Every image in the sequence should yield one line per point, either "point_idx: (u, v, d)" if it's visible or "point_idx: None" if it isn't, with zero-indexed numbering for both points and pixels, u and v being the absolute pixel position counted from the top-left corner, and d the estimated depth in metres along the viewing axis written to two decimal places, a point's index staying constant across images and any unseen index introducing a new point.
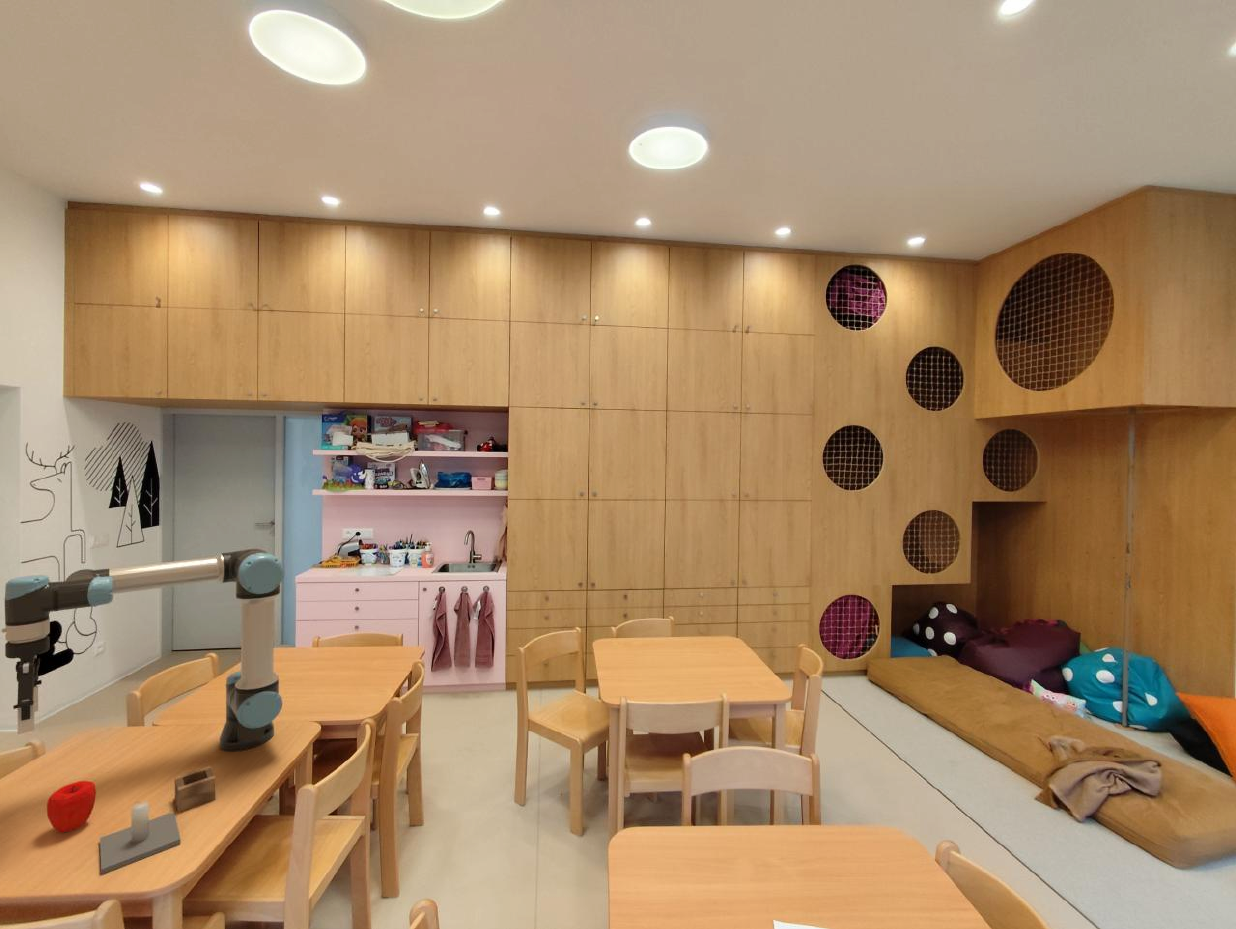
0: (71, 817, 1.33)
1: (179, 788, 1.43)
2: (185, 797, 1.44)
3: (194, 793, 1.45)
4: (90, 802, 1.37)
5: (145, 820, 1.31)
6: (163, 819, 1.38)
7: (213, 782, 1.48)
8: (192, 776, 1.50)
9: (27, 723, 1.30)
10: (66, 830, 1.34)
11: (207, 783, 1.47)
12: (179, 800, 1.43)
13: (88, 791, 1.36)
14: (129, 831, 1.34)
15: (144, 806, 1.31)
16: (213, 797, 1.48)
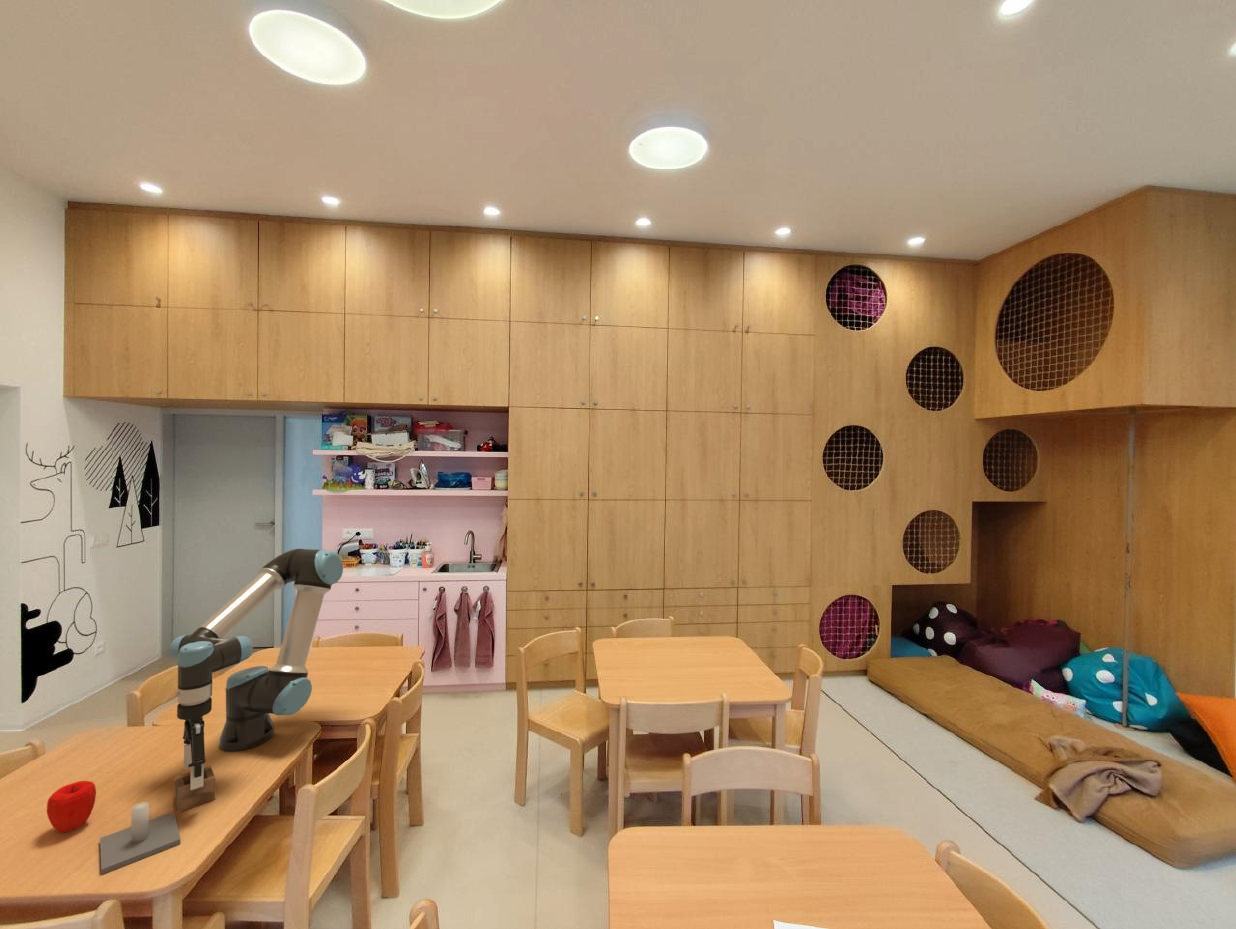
0: (71, 817, 1.33)
1: (179, 788, 1.43)
2: (185, 797, 1.44)
3: (194, 793, 1.45)
4: (90, 802, 1.37)
5: (145, 820, 1.31)
6: (163, 819, 1.38)
7: (213, 782, 1.48)
8: None
9: (198, 779, 1.43)
10: (66, 830, 1.34)
11: (207, 783, 1.47)
12: (179, 800, 1.43)
13: (88, 791, 1.36)
14: (129, 831, 1.34)
15: (144, 806, 1.31)
16: (213, 797, 1.48)
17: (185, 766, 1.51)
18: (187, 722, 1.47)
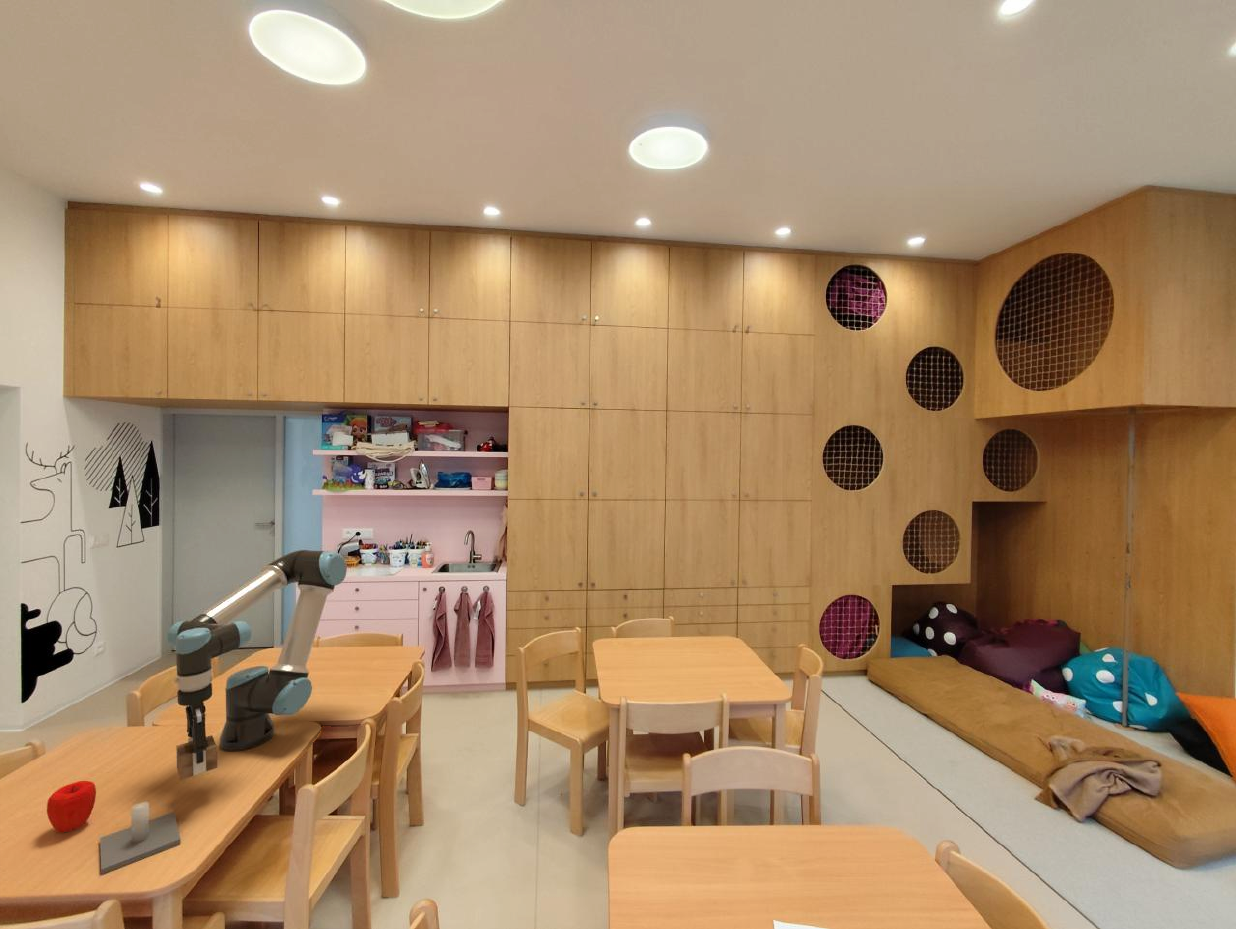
0: (71, 817, 1.33)
1: (181, 756, 1.44)
2: (187, 765, 1.44)
3: None
4: (91, 802, 1.37)
5: (145, 820, 1.31)
6: (163, 819, 1.38)
7: (214, 750, 1.48)
8: None
9: (200, 765, 1.45)
10: (66, 830, 1.34)
11: (209, 752, 1.47)
12: (181, 768, 1.43)
13: (88, 791, 1.36)
14: (129, 831, 1.34)
15: (144, 806, 1.31)
16: (215, 765, 1.48)
17: None
18: (188, 707, 1.48)
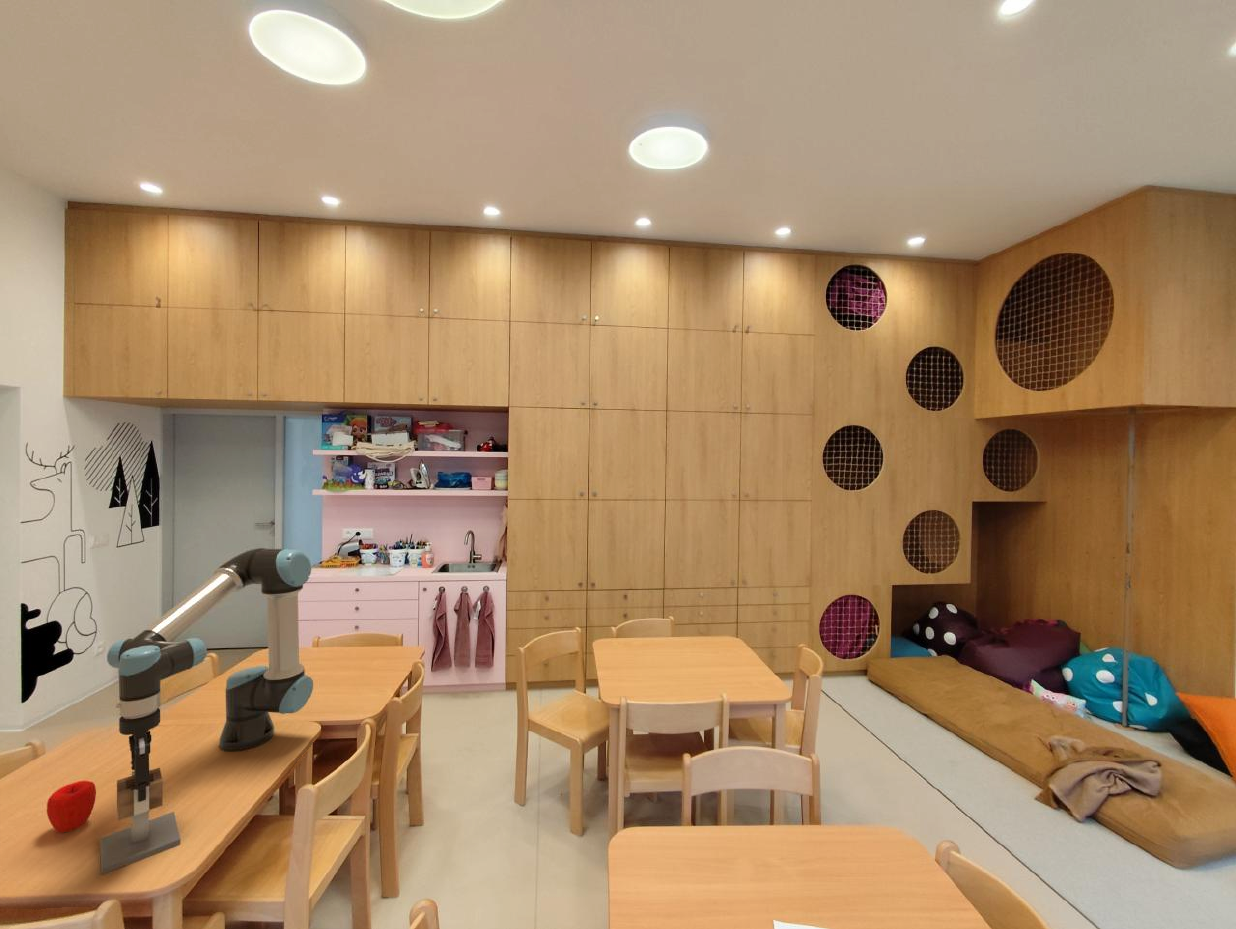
0: (71, 817, 1.33)
1: (120, 793, 1.26)
2: (126, 803, 1.26)
3: None
4: (90, 802, 1.37)
5: (145, 820, 1.31)
6: (163, 819, 1.38)
7: (160, 786, 1.31)
8: None
9: (143, 803, 1.28)
10: (66, 830, 1.34)
11: (153, 787, 1.30)
12: (119, 807, 1.26)
13: (88, 791, 1.36)
14: (129, 831, 1.34)
15: None
16: (160, 803, 1.31)
17: None
18: (132, 736, 1.31)
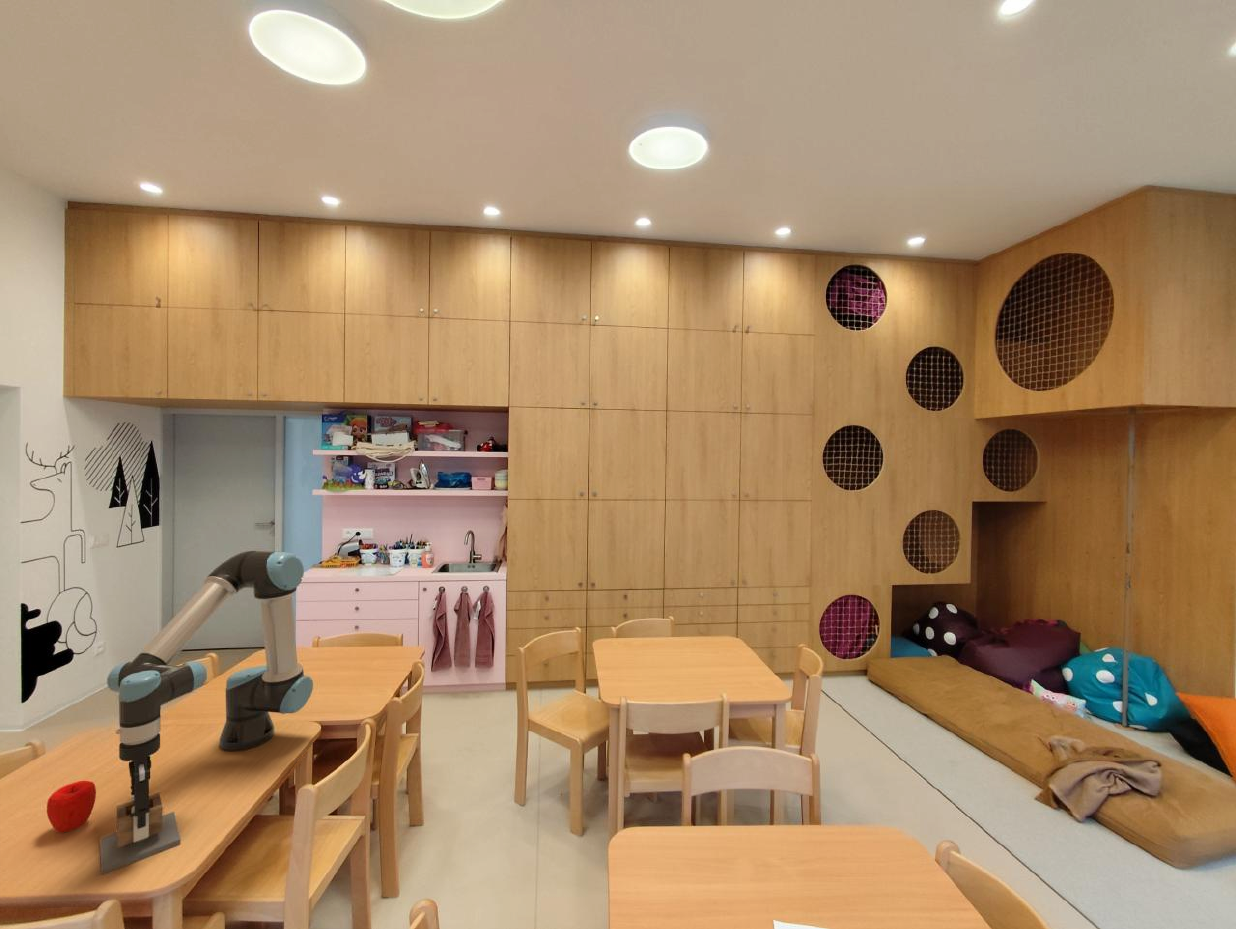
0: (71, 817, 1.33)
1: (119, 819, 1.26)
2: (126, 830, 1.26)
3: None
4: (90, 802, 1.37)
5: None
6: (163, 819, 1.38)
7: (159, 812, 1.31)
8: None
9: (142, 830, 1.28)
10: (66, 830, 1.34)
11: (152, 813, 1.30)
12: (119, 833, 1.26)
13: (88, 791, 1.36)
14: None
15: None
16: (159, 829, 1.31)
17: None
18: (132, 762, 1.31)
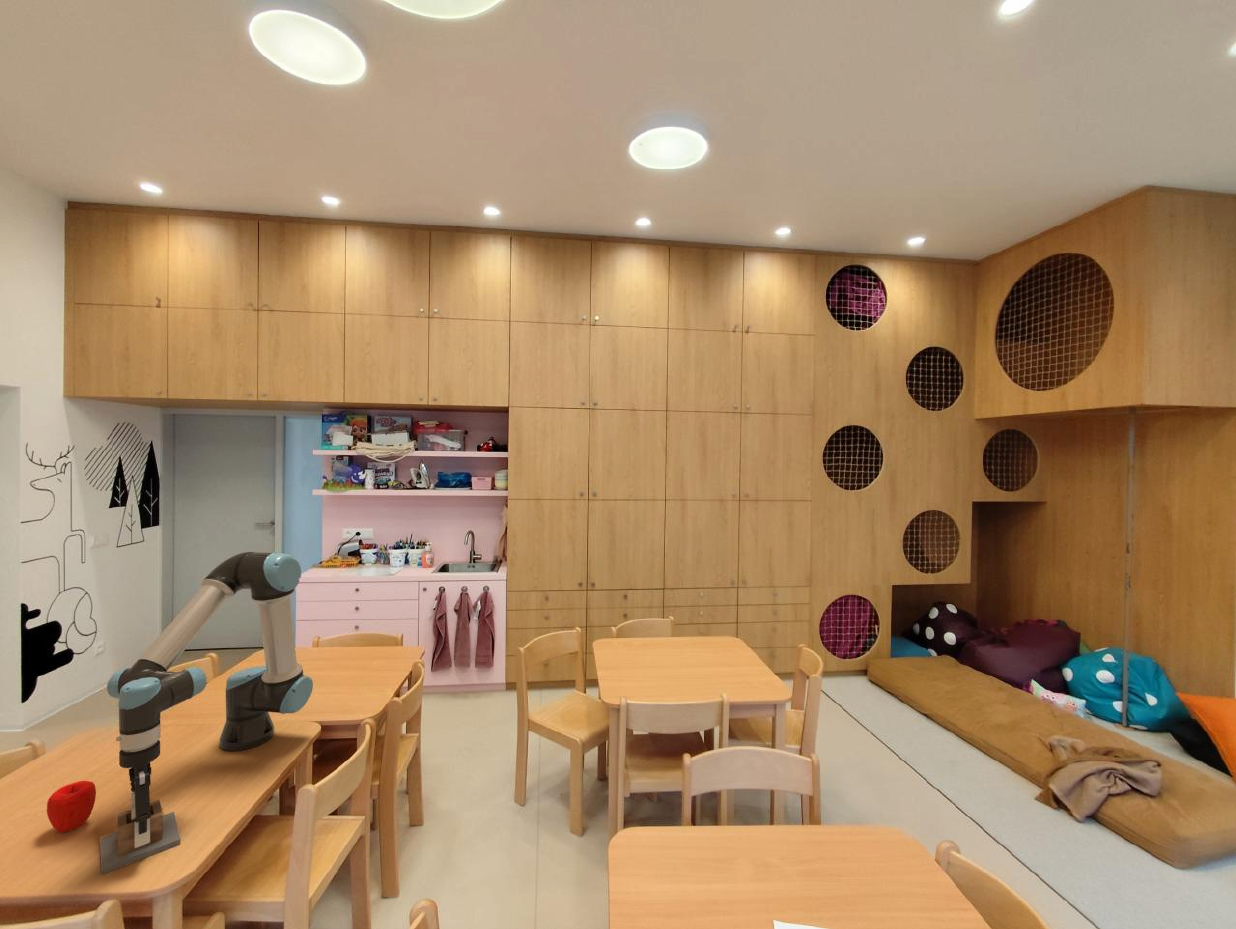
0: (71, 817, 1.33)
1: (120, 828, 1.26)
2: (126, 838, 1.27)
3: None
4: (90, 802, 1.37)
5: None
6: (163, 819, 1.38)
7: (160, 819, 1.31)
8: None
9: (143, 836, 1.26)
10: (66, 830, 1.34)
11: (153, 821, 1.30)
12: (119, 842, 1.26)
13: (88, 791, 1.36)
14: None
15: None
16: (160, 836, 1.31)
17: None
18: (132, 769, 1.31)
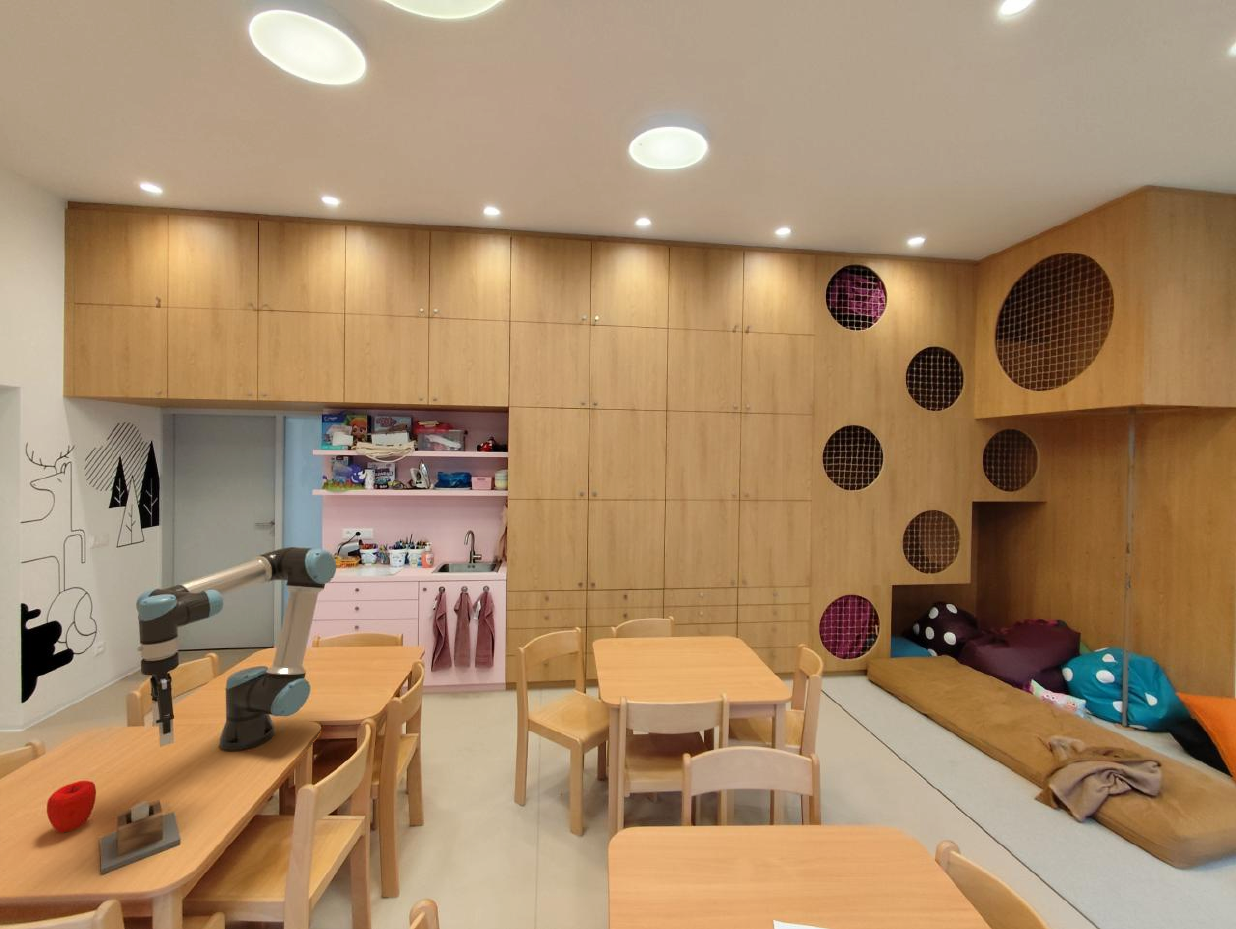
0: (71, 817, 1.33)
1: (120, 828, 1.26)
2: (126, 838, 1.27)
3: (137, 833, 1.28)
4: (90, 802, 1.37)
5: None
6: (163, 819, 1.38)
7: (160, 819, 1.31)
8: None
9: (168, 736, 1.36)
10: (66, 830, 1.34)
11: (153, 821, 1.30)
12: (119, 842, 1.26)
13: (88, 791, 1.36)
14: None
15: (144, 806, 1.31)
16: (160, 836, 1.31)
17: (155, 723, 1.45)
18: (153, 678, 1.40)
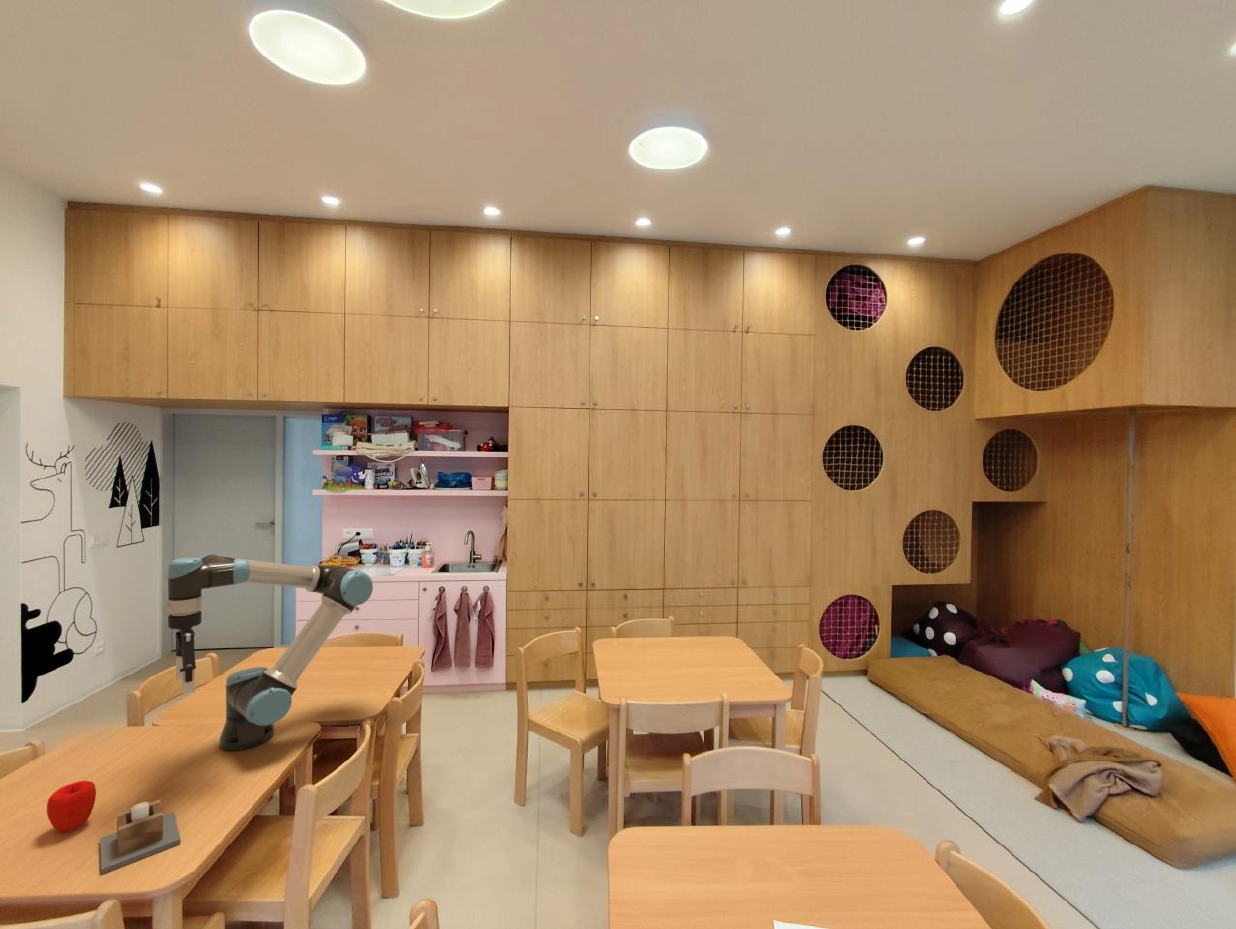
0: (71, 817, 1.33)
1: (120, 828, 1.26)
2: (126, 838, 1.27)
3: (137, 833, 1.28)
4: (90, 802, 1.37)
5: None
6: (163, 819, 1.38)
7: (160, 819, 1.31)
8: None
9: (189, 685, 1.50)
10: (66, 830, 1.34)
11: (153, 821, 1.30)
12: (119, 842, 1.26)
13: (88, 791, 1.36)
14: None
15: (144, 806, 1.31)
16: (160, 836, 1.31)
17: (177, 676, 1.59)
18: (178, 633, 1.54)
